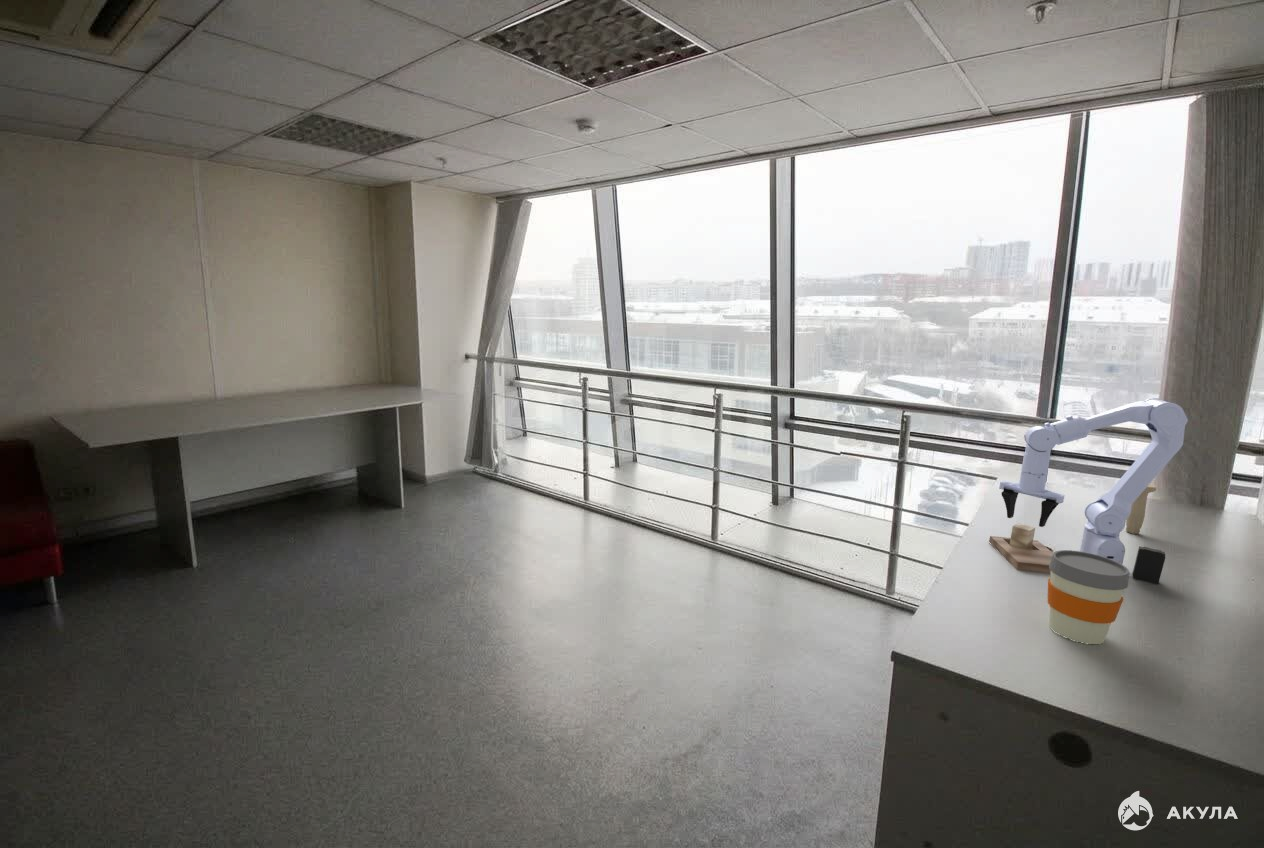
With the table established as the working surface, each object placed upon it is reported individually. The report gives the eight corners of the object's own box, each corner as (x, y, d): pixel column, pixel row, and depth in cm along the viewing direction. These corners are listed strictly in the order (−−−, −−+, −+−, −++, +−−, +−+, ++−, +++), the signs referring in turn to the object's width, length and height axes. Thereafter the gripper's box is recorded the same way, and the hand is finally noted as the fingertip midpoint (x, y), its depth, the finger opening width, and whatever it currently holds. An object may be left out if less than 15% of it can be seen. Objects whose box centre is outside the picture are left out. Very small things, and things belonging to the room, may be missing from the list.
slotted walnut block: (1070, 575, 149) (1071, 567, 149) (1017, 569, 151) (1018, 561, 151) (1036, 547, 166) (1037, 540, 166) (988, 542, 168) (990, 535, 168)
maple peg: (1030, 552, 163) (1035, 527, 161) (1025, 555, 160) (1029, 530, 159) (1014, 547, 166) (1018, 523, 164) (1008, 550, 163) (1012, 525, 162)
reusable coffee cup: (1042, 610, 130) (1054, 544, 127) (1116, 632, 122) (1131, 562, 119) (1034, 633, 120) (1047, 562, 118) (1114, 658, 113) (1130, 582, 110)
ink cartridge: (1157, 581, 147) (1165, 551, 146) (1158, 585, 146) (1166, 553, 144) (1131, 575, 150) (1139, 545, 149) (1132, 578, 149) (1139, 547, 147)
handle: (1146, 537, 178) (1156, 488, 175) (1118, 531, 182) (1128, 483, 179) (1145, 533, 182) (1156, 485, 179) (1118, 527, 185) (1128, 480, 183)
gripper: (1072, 476, 156) (1062, 527, 158) (1010, 464, 167) (1002, 511, 170) (1061, 480, 152) (1052, 532, 154) (999, 467, 163) (991, 515, 165)
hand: (1025, 521), depth 162 cm, fingers open, 7 cm apart
